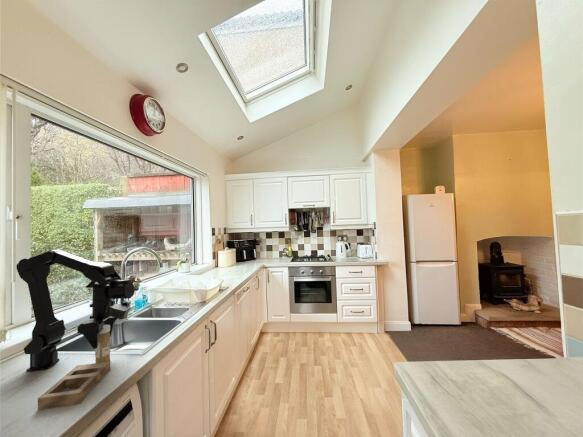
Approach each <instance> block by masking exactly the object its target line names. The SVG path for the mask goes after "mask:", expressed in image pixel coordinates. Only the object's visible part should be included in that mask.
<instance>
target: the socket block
mask: <svg viewBox="0 0 583 437" xmlns="http://www.w3.org/2000/svg"><path fill="white" fill-rule="evenodd" d="M110 372H111V361H110V362H102V363H96V362H95V363H87V364H86V363H85V364H79V365H76V366H74V367H73V368H72V369H71V370H70V371H69V372H68V373H67V374H65V375H63V377H62V378H60V379H59V380H58V381H57V382H56V383H55V384H52V386H51V387H50V388H48V389H47V390H45V392H43V394H41V395H40V396H39V397H37V411H39V410H45V409H52V408H59V407H60V408H61V407H67V406H74V405H78V404H79V405H80V404H81V403H82V402H83V401H84V399H86V397H88V395H89V394H90V393H91V392H92V391H93V390H94V389H95V388H96V387H97V386H98V385H99V384H100V383H101V381H102V380H103V379H104V378H105V377H106V376H107V375H108V374H109V373H110ZM71 389H72V390H71ZM73 389H75V390H73ZM65 390H67V391H65ZM68 390H69V391H68Z"/></svg>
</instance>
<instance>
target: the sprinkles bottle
mask: <svg viewBox="0 0 583 437" xmlns="http://www.w3.org/2000/svg"><path fill="white" fill-rule="evenodd" d="M103 328H104V329H103V330H102V331H101V332H100V333H99V341H98V347H97V348H96V349H94V357H95V363H102V362H110V363H111V355H110V354H111V337H110V325H104V326H103Z"/></svg>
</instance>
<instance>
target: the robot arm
mask: <svg viewBox="0 0 583 437" xmlns="http://www.w3.org/2000/svg"><path fill="white" fill-rule="evenodd" d="M56 264H57V265H60V266H63V267H66V268H68V269H71V270H73V271H77V272H80V273H81V274H83V276H84V277H85V278H86V279H88V280H89V281H90V282H89V283H88V284H87V285H85V288H86V289H89V288H90V289H92V290H91V292H92V293H91V294H92V296H91V298H92V299H91V300H92V303H90V304H89V308H92V314H91V315H89V319H88V320H87V319H86V320H85V321H83V322H81V323H80V324H79V325H78V326H77V329H76V330H77V334H80V335H82V336H84V338H85V339H86V340H87V342H88V343H89V345H90V346H91V347H92V349H94V350H95V349H96V348H97V347H98V341H99V333H100V332H101V331H102V330H103V329H104V328H103V326H104V325H110V338H111V337H112V334H113V331H114V327H115V324H116V322H117V320H124V319H125V318H126V317H127V316H128V314H129V312H130V311H131V305H130V302H129V301H124V302H122V303H119V304H118V303H116V300H123V299H131V298H132V297H133V296H134V295H135V291H136V287H135V286H134V283H133V282H132V280H131V278H127V279H122V277H121V276H120V275H119V273H118V272H117V271H116V269H115V265H113V264H111V263H109V262H108V263H107V262H102V261H100V262H99V261H92V260H88V259H86V258H83V257H80V256H77V255H74V254H72V253H69V252H67V251H64V250H63V249H52V250H51V249H50V250H48V251H45V252H43V253H40V254H37V255H35V256H31V257H25V258H22V259H20V260H19V261H18V262H17V263H16V271H17V273H18V276H19V278H20V279H21V280H23V281H24V282H25V283H26V284H27V286H28V287H27V288H28V291H29V296H30V300H31V305H32V311H33V314H34V320H35V324H34V327H33V329H32V332H31V340H30V341H29V342H28V343H27V345H25V346H24V347H23V351H24V354H25V355H29V367H28V368H26V370H25V371H26V372H33V371H41V370H48V369H49V368H51V367H52V366H53V365H55V364H56V363H58V362H59V361H60V358H59V355H58V354H59V350H58V349H57V345H58V344H60V343H62V342H61V341H62V338H64V336H65V333H66V330H67V328H66V326H65V320H64V319H63V318H62V319H60V320H59V319H58V318H57V317H56V316H55V312H54V306H53V304H52V299H51V294H50V290H49V286H48V277H49V274H50V272H51V266H53V265H56Z"/></svg>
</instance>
